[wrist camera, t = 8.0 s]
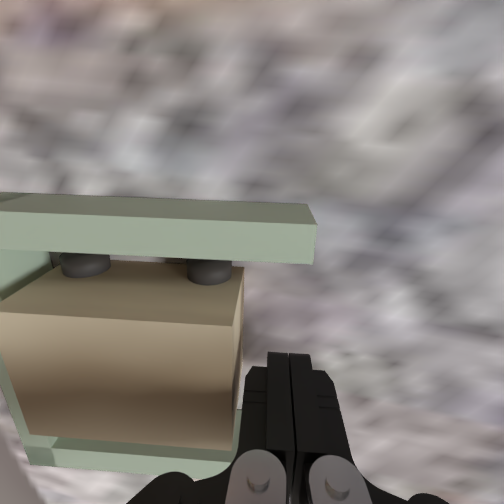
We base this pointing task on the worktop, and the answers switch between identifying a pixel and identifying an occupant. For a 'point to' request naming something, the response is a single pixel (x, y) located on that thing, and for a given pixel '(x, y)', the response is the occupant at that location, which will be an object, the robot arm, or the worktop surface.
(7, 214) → the bay
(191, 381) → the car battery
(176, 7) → the worktop surface
